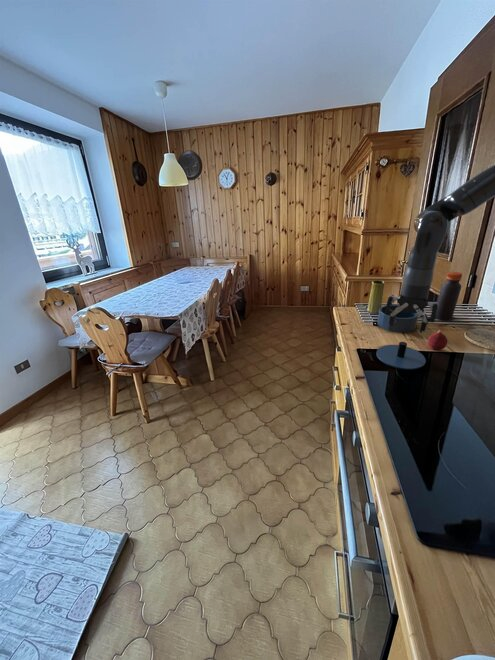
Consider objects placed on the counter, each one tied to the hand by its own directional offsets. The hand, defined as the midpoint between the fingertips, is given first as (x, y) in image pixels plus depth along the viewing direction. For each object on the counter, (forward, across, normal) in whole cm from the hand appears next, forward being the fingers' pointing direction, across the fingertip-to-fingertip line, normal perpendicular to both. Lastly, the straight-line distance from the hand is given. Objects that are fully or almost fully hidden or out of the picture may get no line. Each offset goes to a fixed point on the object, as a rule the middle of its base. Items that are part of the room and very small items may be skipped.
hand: (406, 328), depth 93 cm
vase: (+12, -19, +37) cm, 43 cm away
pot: (+12, -7, +26) cm, 30 cm away
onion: (+12, +9, +12) cm, 19 cm away
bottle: (+12, +8, +43) cm, 46 cm away
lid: (+11, 0, 0) cm, 11 cm away
